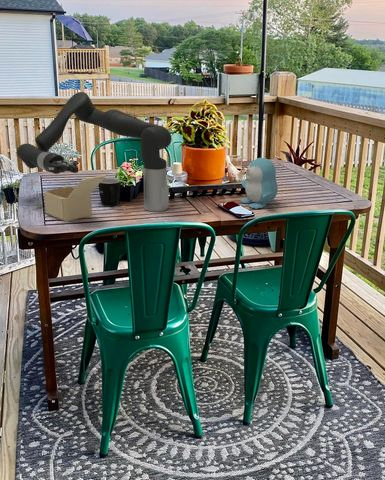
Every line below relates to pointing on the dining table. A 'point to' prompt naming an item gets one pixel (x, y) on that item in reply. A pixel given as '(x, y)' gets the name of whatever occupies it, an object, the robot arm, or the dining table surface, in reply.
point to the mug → (109, 191)
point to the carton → (67, 204)
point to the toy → (260, 183)
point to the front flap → (86, 186)
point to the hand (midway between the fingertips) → (76, 170)
